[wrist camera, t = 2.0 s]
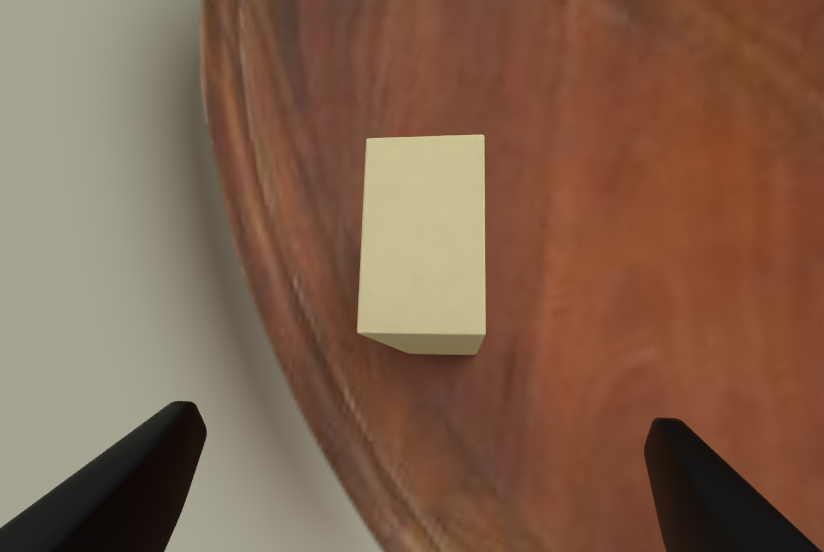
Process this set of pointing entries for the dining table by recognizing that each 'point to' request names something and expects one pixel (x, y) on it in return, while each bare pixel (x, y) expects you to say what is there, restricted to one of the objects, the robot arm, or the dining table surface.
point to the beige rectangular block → (424, 244)
